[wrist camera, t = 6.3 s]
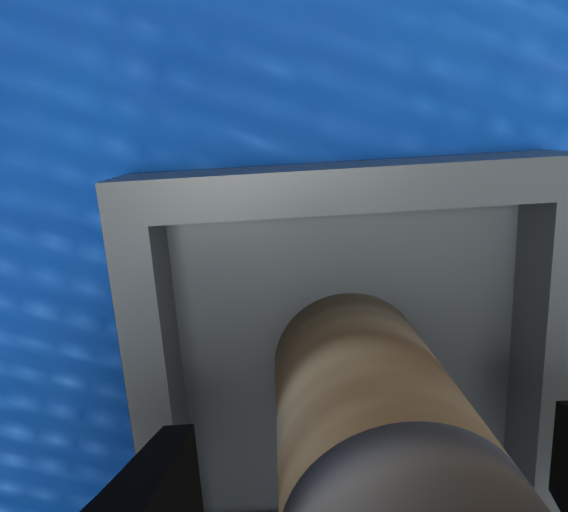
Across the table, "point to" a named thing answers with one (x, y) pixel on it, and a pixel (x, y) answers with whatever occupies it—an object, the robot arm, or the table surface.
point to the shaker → (381, 421)
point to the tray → (336, 280)
